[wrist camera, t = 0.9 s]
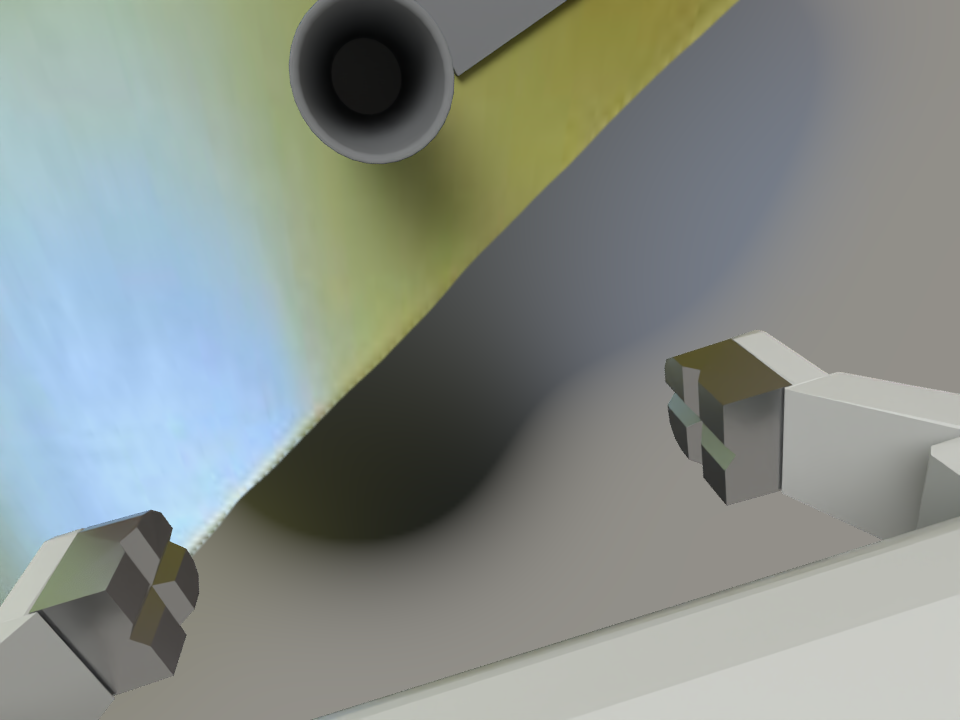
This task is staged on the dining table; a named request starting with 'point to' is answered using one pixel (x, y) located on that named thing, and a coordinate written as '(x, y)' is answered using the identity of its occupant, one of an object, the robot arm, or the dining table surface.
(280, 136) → the dining table surface
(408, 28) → the cup
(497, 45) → the mat
